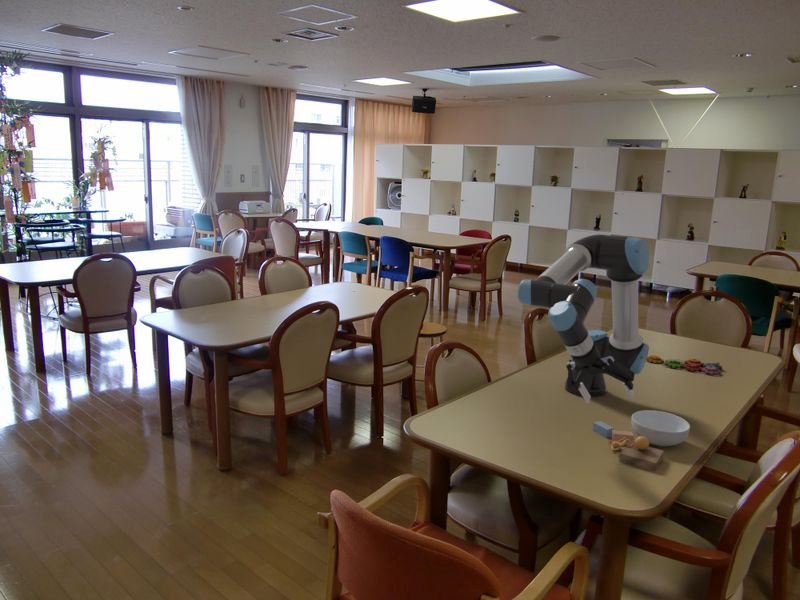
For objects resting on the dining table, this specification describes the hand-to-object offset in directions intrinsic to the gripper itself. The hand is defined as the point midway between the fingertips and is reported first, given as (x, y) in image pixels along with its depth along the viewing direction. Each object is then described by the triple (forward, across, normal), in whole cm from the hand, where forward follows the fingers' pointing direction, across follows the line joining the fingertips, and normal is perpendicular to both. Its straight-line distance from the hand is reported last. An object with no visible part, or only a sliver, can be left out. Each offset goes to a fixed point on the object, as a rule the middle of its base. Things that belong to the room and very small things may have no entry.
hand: (610, 398), depth 188 cm
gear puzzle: (+70, -9, +82) cm, 108 cm away
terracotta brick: (+18, -3, -2) cm, 18 cm away
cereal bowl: (+24, +5, +3) cm, 25 cm away
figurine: (+13, +8, -8) cm, 18 cm away
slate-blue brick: (+17, -9, +1) cm, 19 cm away
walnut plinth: (+15, +5, -12) cm, 20 cm away
